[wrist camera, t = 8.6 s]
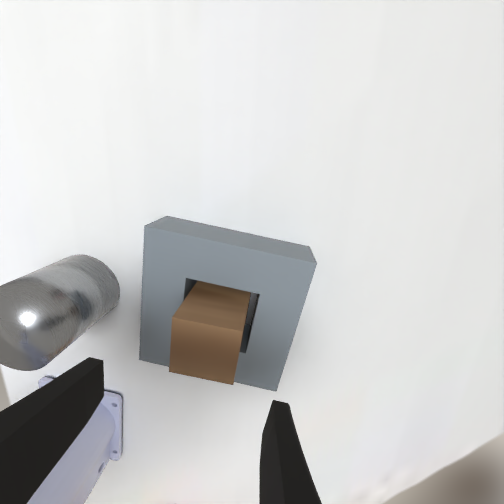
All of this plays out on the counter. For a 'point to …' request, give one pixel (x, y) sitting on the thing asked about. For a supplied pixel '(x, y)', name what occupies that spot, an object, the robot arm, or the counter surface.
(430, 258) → the counter surface
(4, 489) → the robot arm
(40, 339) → the round peg
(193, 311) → the square peg
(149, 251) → the socket block
